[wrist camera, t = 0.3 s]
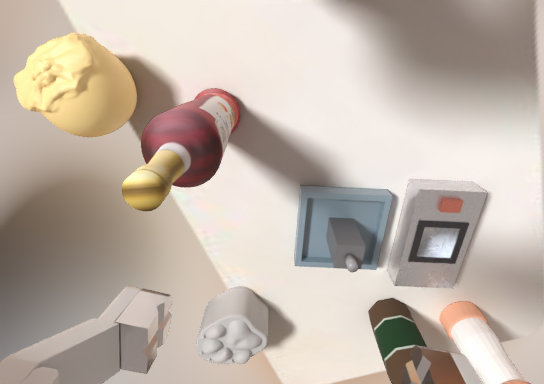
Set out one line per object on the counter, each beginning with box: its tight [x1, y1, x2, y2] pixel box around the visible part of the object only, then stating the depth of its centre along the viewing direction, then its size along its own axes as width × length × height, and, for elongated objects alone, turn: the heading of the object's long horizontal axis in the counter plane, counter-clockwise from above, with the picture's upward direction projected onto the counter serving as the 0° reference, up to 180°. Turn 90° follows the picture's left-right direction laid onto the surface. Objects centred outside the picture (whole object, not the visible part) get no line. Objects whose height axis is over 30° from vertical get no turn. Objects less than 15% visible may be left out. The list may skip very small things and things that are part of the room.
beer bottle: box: [369, 298, 427, 384], centre depth 51 cm, size 8×8×24 cm
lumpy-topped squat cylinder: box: [196, 286, 269, 364], centre depth 58 cm, size 10×13×9 cm
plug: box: [326, 217, 366, 272], centre depth 48 cm, size 4×4×10 cm
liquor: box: [122, 88, 240, 211], centre depth 33 cm, size 7×7×28 cm
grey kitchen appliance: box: [387, 179, 488, 288], centre depth 51 cm, size 18×10×5 cm, turn 177°
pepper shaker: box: [440, 301, 530, 384], centre depth 53 cm, size 7×7×19 cm
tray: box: [294, 185, 393, 270], centre depth 52 cm, size 14×14×2 cm
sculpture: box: [14, 32, 137, 137], centre depth 40 cm, size 11×12×11 cm
